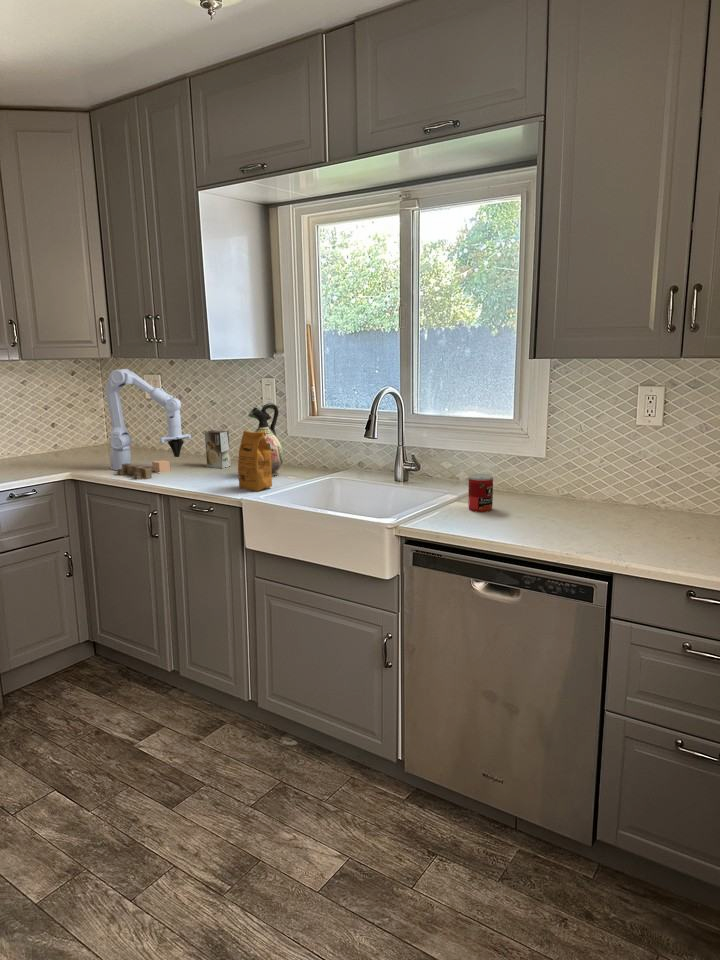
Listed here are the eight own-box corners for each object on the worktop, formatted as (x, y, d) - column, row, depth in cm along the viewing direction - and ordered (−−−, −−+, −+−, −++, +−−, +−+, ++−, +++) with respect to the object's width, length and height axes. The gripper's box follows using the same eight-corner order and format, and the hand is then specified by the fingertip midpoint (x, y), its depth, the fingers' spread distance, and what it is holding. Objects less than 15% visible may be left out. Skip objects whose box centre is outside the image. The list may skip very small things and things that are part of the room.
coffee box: (231, 466, 308) (229, 430, 305) (222, 468, 302) (220, 432, 299) (215, 464, 312) (213, 429, 309) (206, 467, 307) (203, 431, 303)
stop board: (115, 474, 294) (115, 465, 293) (127, 472, 298) (126, 463, 297) (139, 480, 281) (139, 470, 280) (151, 478, 285) (150, 468, 284)
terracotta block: (152, 471, 299) (151, 461, 298) (163, 470, 303) (162, 460, 302) (159, 473, 295) (159, 463, 294) (170, 471, 299) (169, 461, 298)
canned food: (480, 513, 218) (481, 479, 216) (463, 508, 224) (463, 475, 222) (497, 509, 222) (498, 476, 220) (479, 505, 229) (480, 472, 226)
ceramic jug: (251, 480, 276) (247, 405, 269) (243, 473, 290) (239, 402, 284) (292, 476, 282) (289, 403, 276) (282, 470, 296) (279, 400, 290)
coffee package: (254, 484, 269) (251, 428, 265) (276, 488, 261) (273, 430, 257) (234, 488, 262) (231, 431, 257) (256, 492, 254) (252, 433, 249)
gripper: (164, 428, 293) (167, 459, 296) (193, 424, 303) (196, 455, 306) (155, 427, 298) (158, 458, 300) (184, 423, 308) (187, 453, 311)
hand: (176, 456), depth 303 cm, fingers closed
